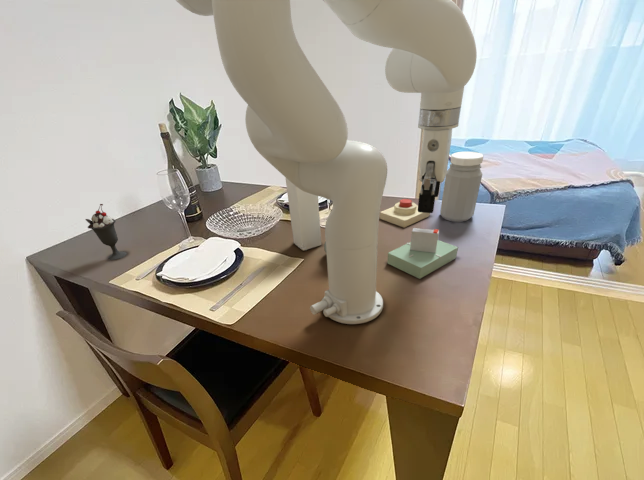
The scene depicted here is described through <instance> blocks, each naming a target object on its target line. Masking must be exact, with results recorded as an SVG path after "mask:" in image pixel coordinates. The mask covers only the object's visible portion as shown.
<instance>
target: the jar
mask: <svg viewBox="0 0 644 480" xmlns="http://www.w3.org/2000/svg"><path fill="white" fill-rule="evenodd" d="M483 160H484V155H483V153H481V152H478V151H457V152H454V153H452V154H451V155H450V164H449V167H448V168H447V173H446V176H445V179H444V185H443V192H442V197H441V204H440V210H439V211H440V215H441V217H442V218H443V219H444V220H446V221H450V222H452V223H453V222H454V223H455V222H456V223H457V222H458V223H461V222H467V221H468V220H470V219H471V218H472V217H474V214H475V210H476V205H477V201H478V196H479V192H480V188H481V183H482V178H483V172H482V170H481V168H482V165H481V164H483Z"/></svg>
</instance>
